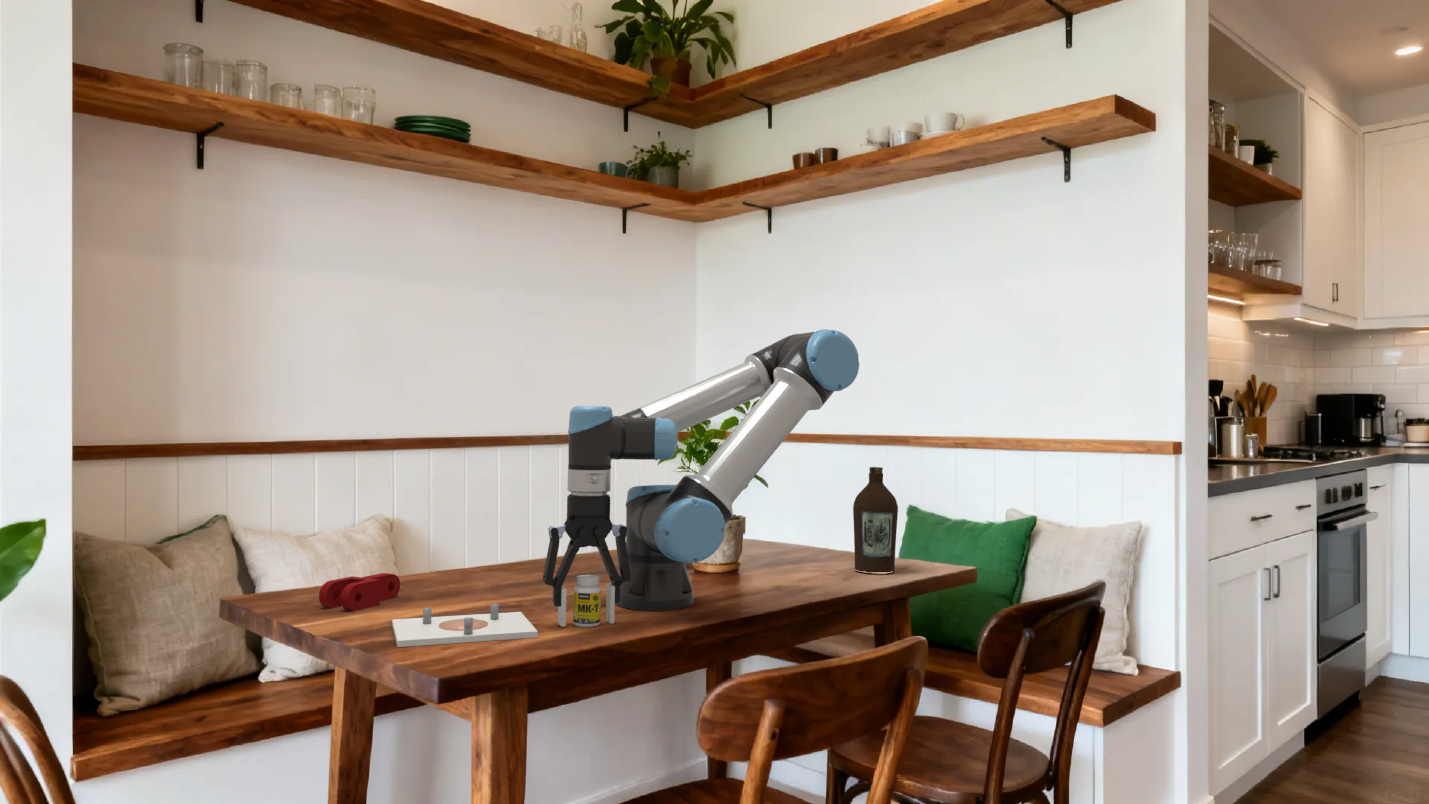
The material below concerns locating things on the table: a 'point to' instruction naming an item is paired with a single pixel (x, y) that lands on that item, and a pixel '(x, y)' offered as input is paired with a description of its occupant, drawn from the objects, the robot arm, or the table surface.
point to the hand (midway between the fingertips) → (586, 623)
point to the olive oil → (875, 525)
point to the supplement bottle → (587, 601)
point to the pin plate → (462, 628)
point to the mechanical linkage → (359, 591)
